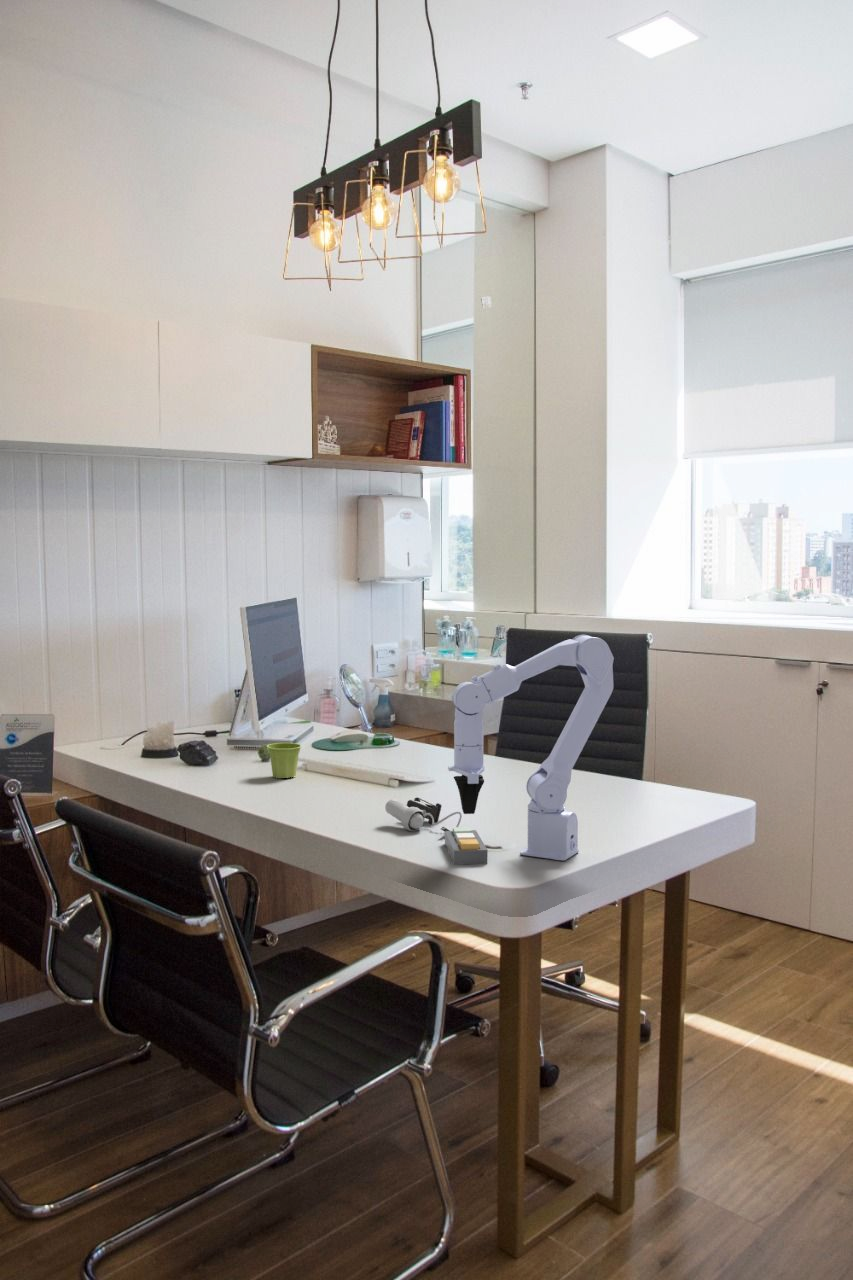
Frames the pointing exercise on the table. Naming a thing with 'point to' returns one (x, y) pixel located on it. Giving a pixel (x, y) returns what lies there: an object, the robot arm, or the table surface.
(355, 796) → the table surface
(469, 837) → the middle key
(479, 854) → the keypad
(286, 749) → the plant pot
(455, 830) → the sage key
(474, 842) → the amber key
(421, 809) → the clip-on lamp
